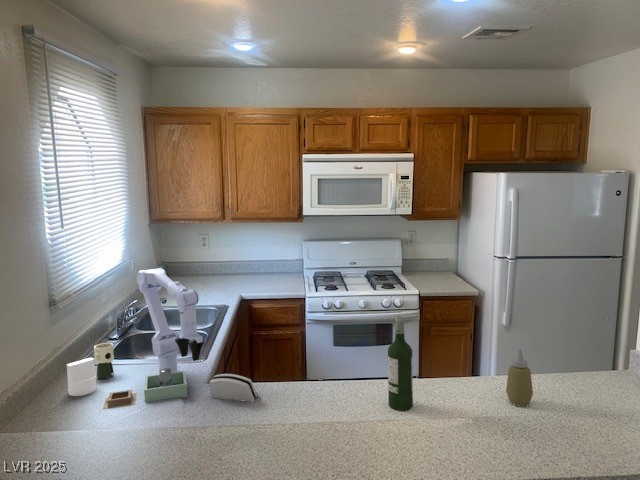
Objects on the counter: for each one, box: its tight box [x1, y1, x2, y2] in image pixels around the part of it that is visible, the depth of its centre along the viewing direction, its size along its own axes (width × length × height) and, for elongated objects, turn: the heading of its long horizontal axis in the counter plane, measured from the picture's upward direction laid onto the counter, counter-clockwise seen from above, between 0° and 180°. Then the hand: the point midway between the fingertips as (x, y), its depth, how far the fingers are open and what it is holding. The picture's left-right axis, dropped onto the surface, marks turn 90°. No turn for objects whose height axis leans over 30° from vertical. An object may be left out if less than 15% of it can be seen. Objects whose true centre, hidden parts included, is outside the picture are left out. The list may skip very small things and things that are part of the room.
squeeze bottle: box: [505, 349, 534, 407], centre depth 147 cm, size 8×8×18 cm
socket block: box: [102, 389, 138, 410], centre depth 155 cm, size 10×10×3 cm
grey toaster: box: [209, 373, 259, 402], centre depth 157 cm, size 17×5×10 cm, turn 72°
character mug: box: [93, 342, 115, 379], centre depth 180 cm, size 11×7×13 cm, turn 172°
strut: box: [158, 368, 173, 387], centre depth 162 cm, size 4×4×8 cm
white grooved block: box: [66, 357, 97, 397], centre depth 164 cm, size 9×9×12 cm
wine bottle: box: [387, 315, 414, 412], centre depth 147 cm, size 8×8×30 cm
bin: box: [143, 370, 188, 403], centre depth 163 cm, size 14×14×5 cm
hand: (190, 358), depth 170 cm, fingers open, 7 cm apart
